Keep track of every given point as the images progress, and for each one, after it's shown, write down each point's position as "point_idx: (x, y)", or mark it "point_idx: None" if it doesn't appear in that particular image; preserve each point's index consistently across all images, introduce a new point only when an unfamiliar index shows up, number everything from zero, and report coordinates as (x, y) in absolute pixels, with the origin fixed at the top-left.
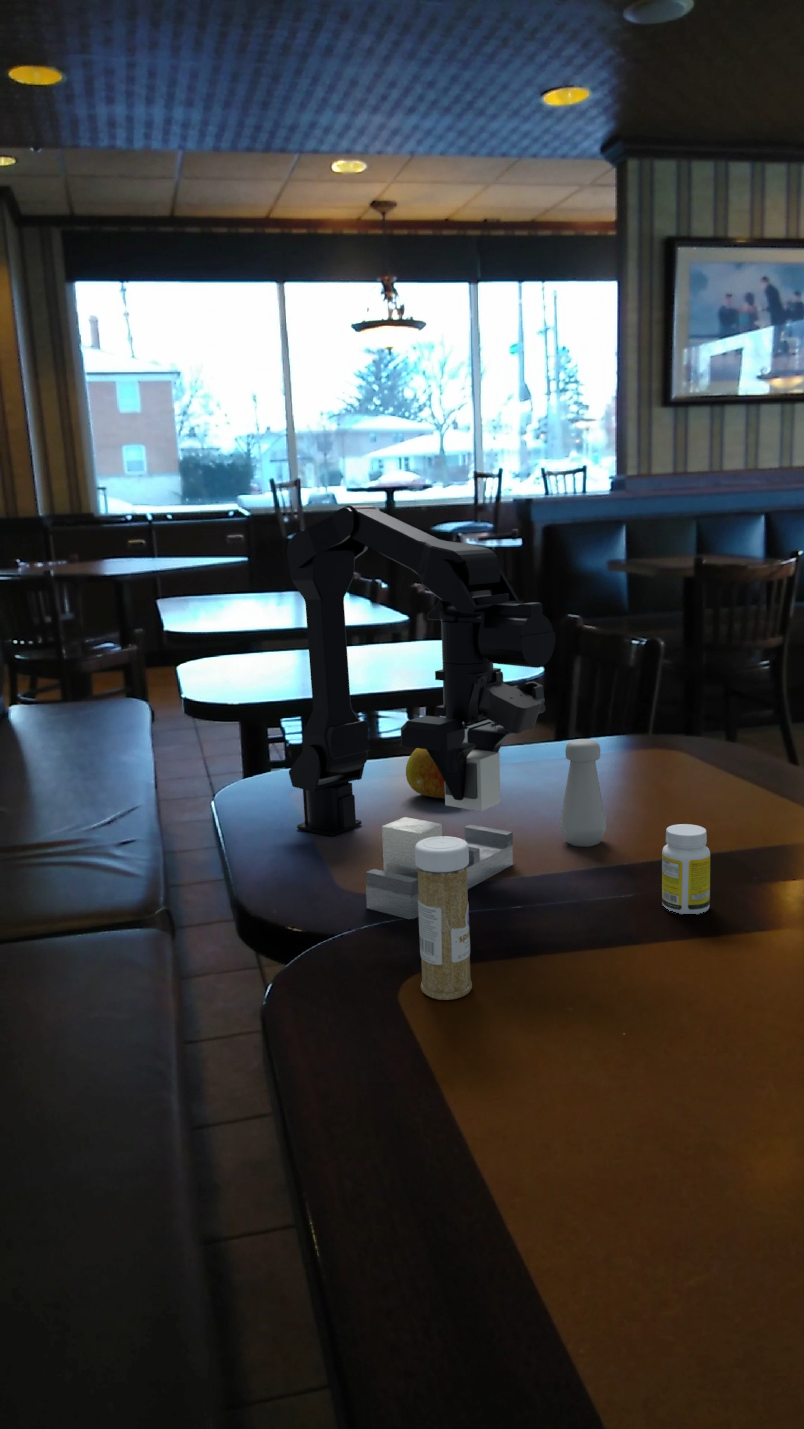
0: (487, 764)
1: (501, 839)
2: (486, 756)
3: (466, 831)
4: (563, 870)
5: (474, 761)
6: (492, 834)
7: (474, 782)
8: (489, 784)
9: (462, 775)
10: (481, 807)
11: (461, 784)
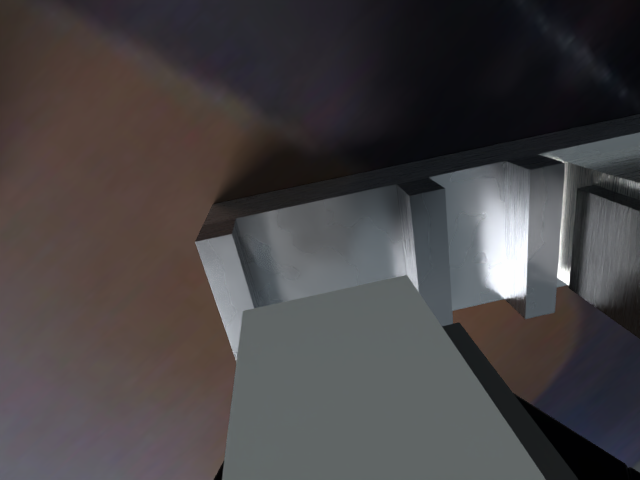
0: None
1: (240, 246)
2: None
3: None
4: (124, 55)
5: None
6: (248, 283)
7: (506, 391)
8: (358, 369)
9: (601, 465)
10: (411, 285)
11: (549, 419)
